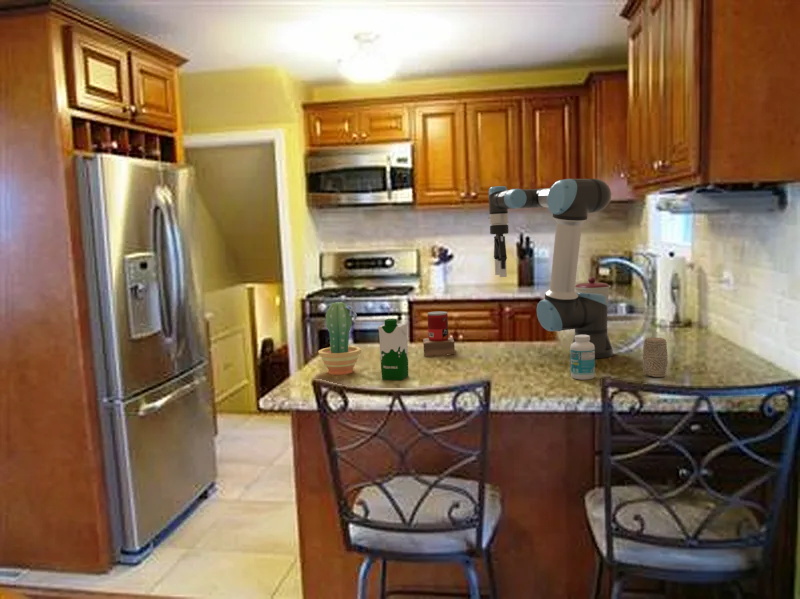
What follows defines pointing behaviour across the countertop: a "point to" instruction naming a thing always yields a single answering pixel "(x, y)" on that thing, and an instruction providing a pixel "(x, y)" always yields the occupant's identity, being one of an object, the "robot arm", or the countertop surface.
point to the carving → (655, 357)
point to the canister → (593, 288)
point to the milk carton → (393, 350)
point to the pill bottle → (582, 358)
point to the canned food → (438, 326)
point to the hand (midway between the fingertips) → (500, 275)
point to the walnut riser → (438, 347)
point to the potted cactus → (340, 340)
